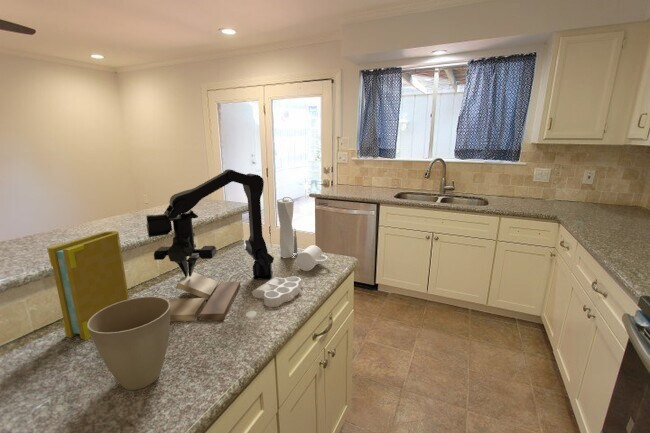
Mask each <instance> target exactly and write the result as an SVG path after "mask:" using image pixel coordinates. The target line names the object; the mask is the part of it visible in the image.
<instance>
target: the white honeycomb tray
mask: <svg viewBox="0 0 650 433" xmlns="http://www.w3.org/2000/svg"><path fill="white" fill-rule="evenodd" d="M302 281H303V280H302V279H301V278H300V277H299V276H288V277H277V276H275V277H271V279H269V280H267V281H266V282H264V283H263V284H262V285H260V286H258V287H257V288H255V289H252V293H251V294H252V295H253V297H255V298H258V299H263V303H264V305H265V306H267V307H271V308H274V307H279V306H281V304H284V303H285V302H290V301H292V300H293V299H294V297H296V296H298V295H299V293H300V292H303V290H302V285H303V284H302V283H303V282H302Z"/></svg>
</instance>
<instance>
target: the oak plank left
mask: <svg viewBox="0 0 650 433" xmlns="http://www.w3.org/2000/svg"><path fill="white" fill-rule="evenodd" d="M206 300H207V299H206V298H202V297H191V298H189V297H188V298H187V297H185V298H170V299H169V300H168V301H169V302H170V322H184V321H191V322H192V321H196V320H197V319H198V315H199V313H200V312H201V310H202V309H203V307H204V306H205V304H206V303H207V301H206Z"/></svg>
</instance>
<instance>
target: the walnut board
mask: <svg viewBox="0 0 650 433" xmlns="http://www.w3.org/2000/svg"><path fill="white" fill-rule="evenodd" d="M240 289H241V281H239V280H238V281H236V280H235V281H220V282H219V283H218V285H217V287H216V289H215V290H214V292H213V293H212V295H211V297H210V298H209V300H207V301H206V304H205V306H204V307H203V309H202V310H201V312H200V313H199V315H198V317H197V320H200V321H219V320H225V319H226V317H227V315H228V312H229V311H230V308H232V307H231V306H232V304H233V302H234V300H235V298H236V296H237V294H238V292H239V290H240Z"/></svg>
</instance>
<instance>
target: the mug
mask: <svg viewBox="0 0 650 433" xmlns="http://www.w3.org/2000/svg"><path fill="white" fill-rule="evenodd" d="M295 260H296V262H295V263H296V265H297V267H298V268H299V269H300V270H301V271H304V272H309V271H311V270H312V269H314V268H315V267H316V266H317V265H319V264H320V265H322V264H326V263H328V262H329V257H328V256H327V255H325V254H324V253H323V250H322V249H321V248H320V247H319V246H317V245H315V244H314V245H312V244H311V245H309V246H307V247H306V248H305V249H303V250H302V251H301V252H300V253H298V254H297V257H296V258H295Z"/></svg>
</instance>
